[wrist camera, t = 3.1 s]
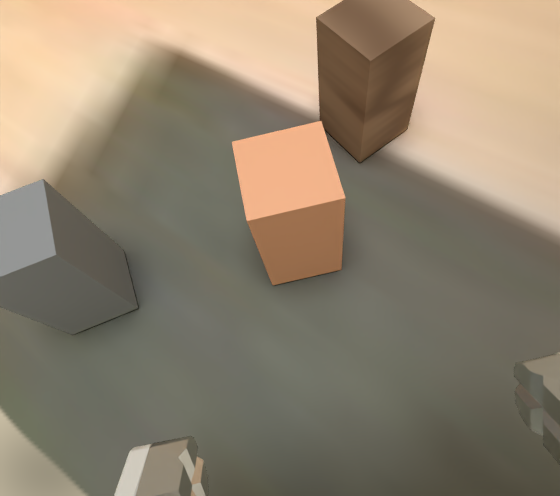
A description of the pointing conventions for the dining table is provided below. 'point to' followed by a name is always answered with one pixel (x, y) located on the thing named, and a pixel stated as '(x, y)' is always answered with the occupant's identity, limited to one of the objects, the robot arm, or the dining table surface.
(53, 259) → the charcoal bar
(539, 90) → the dining table surface
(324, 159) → the terracotta bar
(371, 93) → the walnut bar
